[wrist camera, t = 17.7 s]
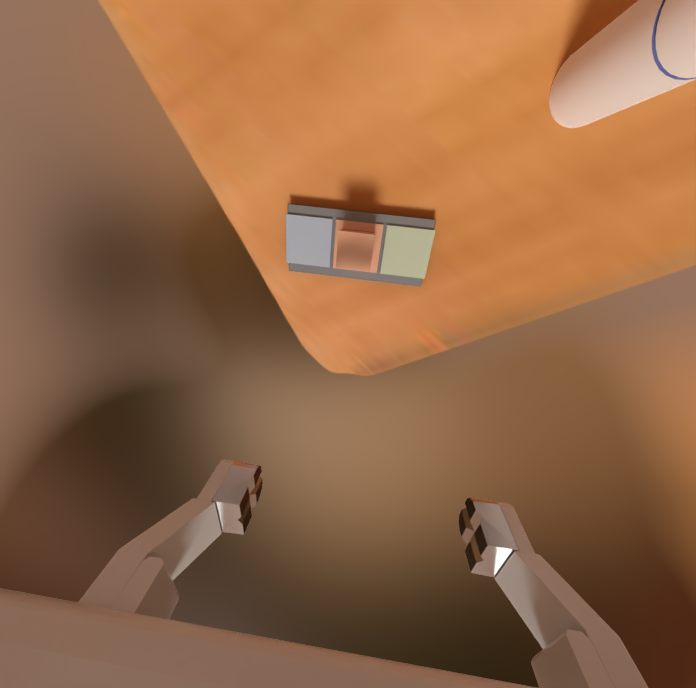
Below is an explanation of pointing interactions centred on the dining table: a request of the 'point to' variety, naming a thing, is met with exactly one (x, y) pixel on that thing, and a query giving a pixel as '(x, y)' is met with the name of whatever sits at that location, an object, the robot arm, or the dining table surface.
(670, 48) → the cylindrical container
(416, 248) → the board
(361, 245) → the terracotta cube
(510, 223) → the dining table surface
